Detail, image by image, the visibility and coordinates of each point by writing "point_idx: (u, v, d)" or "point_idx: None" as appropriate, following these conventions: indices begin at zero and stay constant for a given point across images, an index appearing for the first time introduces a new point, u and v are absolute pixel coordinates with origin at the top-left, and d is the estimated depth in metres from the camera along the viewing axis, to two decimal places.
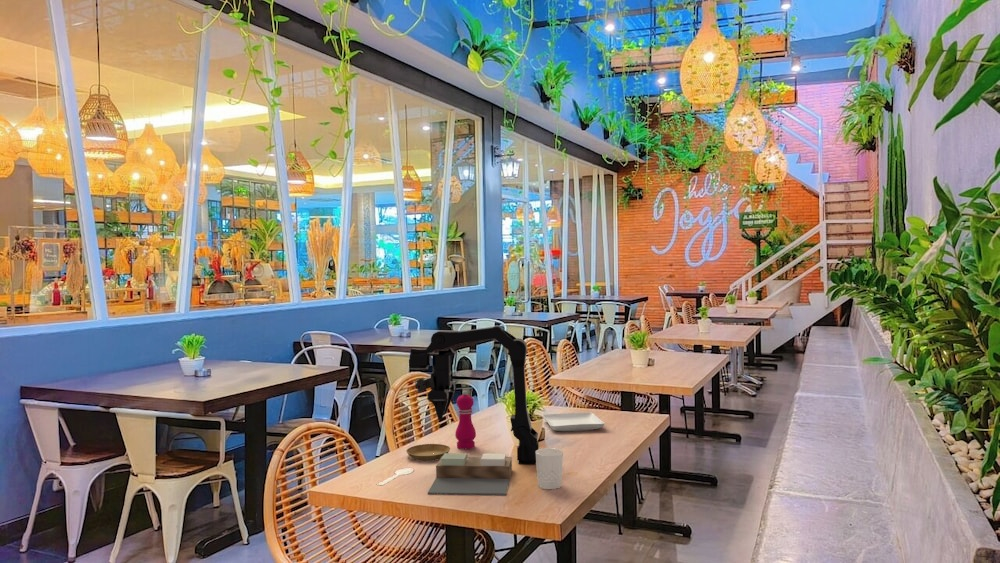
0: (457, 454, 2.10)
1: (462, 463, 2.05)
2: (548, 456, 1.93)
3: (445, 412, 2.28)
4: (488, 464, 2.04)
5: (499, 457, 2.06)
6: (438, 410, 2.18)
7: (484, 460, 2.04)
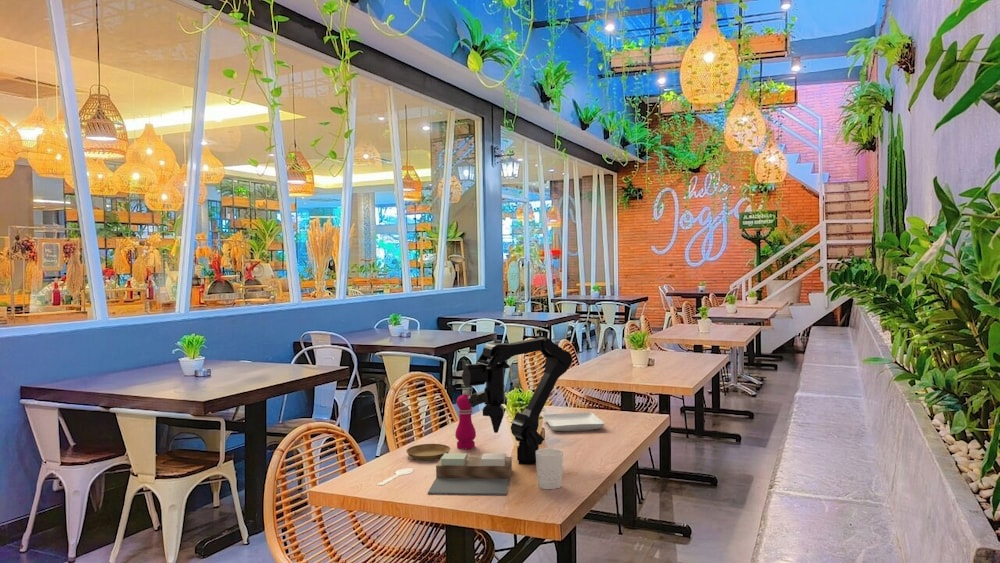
0: (457, 454, 2.10)
1: (462, 463, 2.05)
2: (548, 456, 1.93)
3: None
4: (488, 464, 2.04)
5: (499, 457, 2.06)
6: (494, 423, 2.14)
7: (484, 460, 2.04)
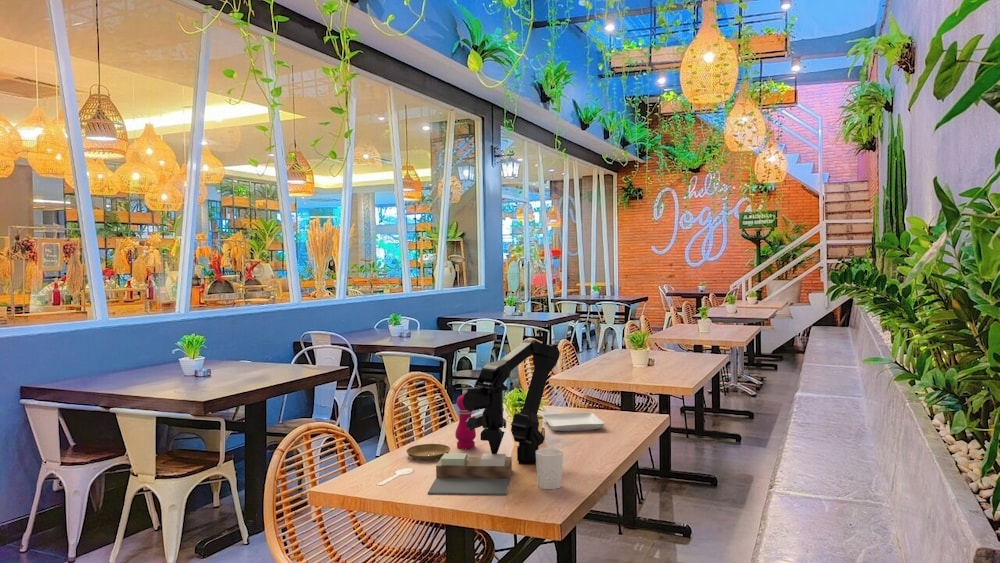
0: (457, 454, 2.10)
1: (462, 463, 2.05)
2: (548, 456, 1.93)
3: None
4: (488, 464, 2.04)
5: (499, 457, 2.06)
6: (493, 447, 2.09)
7: (484, 460, 2.04)
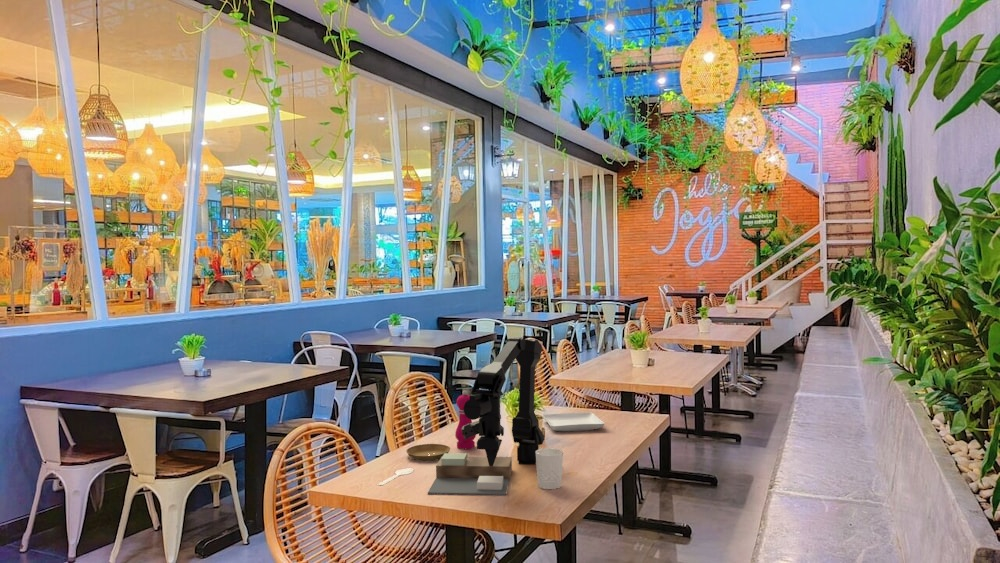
0: (457, 454, 2.10)
1: (462, 463, 2.05)
2: (548, 456, 1.93)
3: None
4: None
5: None
6: (489, 456, 2.00)
7: None
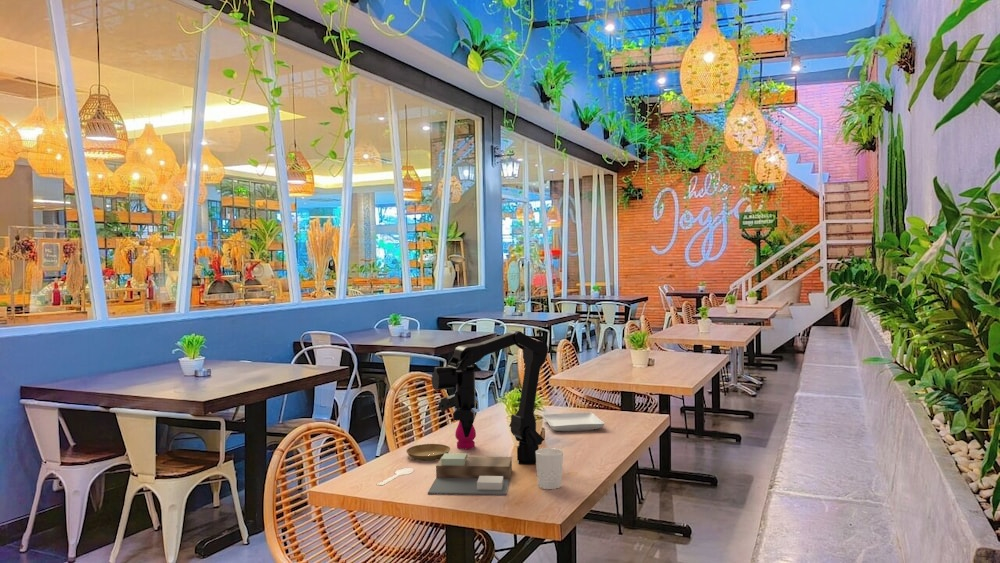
0: (457, 454, 2.10)
1: (462, 463, 2.05)
2: (548, 456, 1.93)
3: None
4: None
5: None
6: (465, 427, 2.10)
7: None
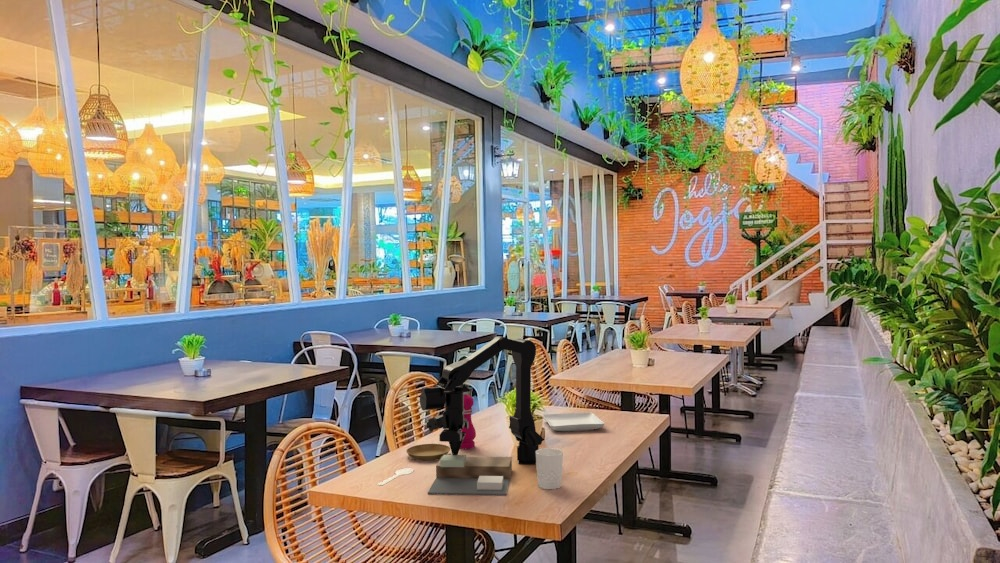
0: (456, 456, 2.08)
1: (461, 465, 2.03)
2: (548, 456, 1.93)
3: None
4: None
5: None
6: (453, 448, 2.09)
7: None
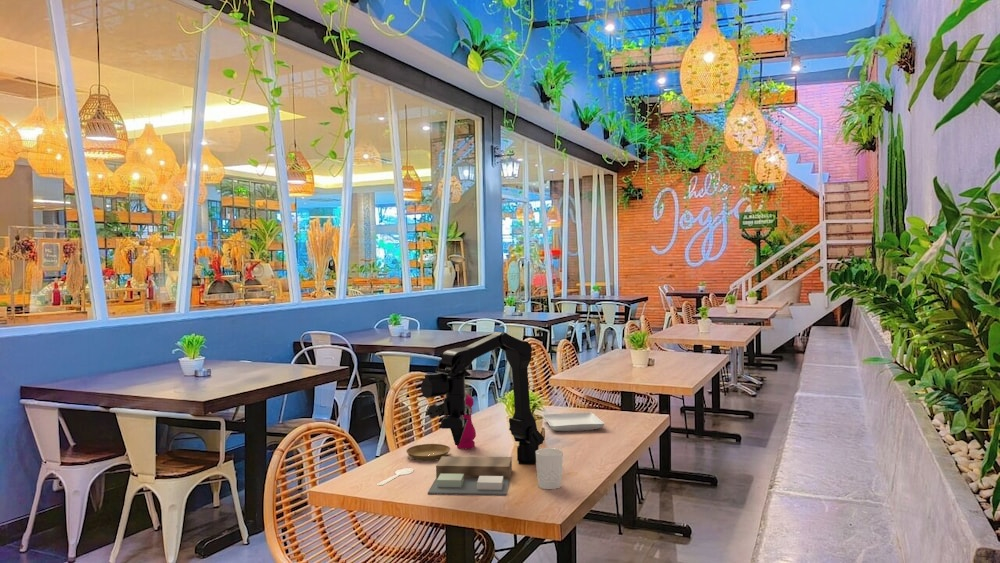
0: None
1: None
2: (548, 456, 1.93)
3: None
4: None
5: None
6: (455, 435, 2.02)
7: None
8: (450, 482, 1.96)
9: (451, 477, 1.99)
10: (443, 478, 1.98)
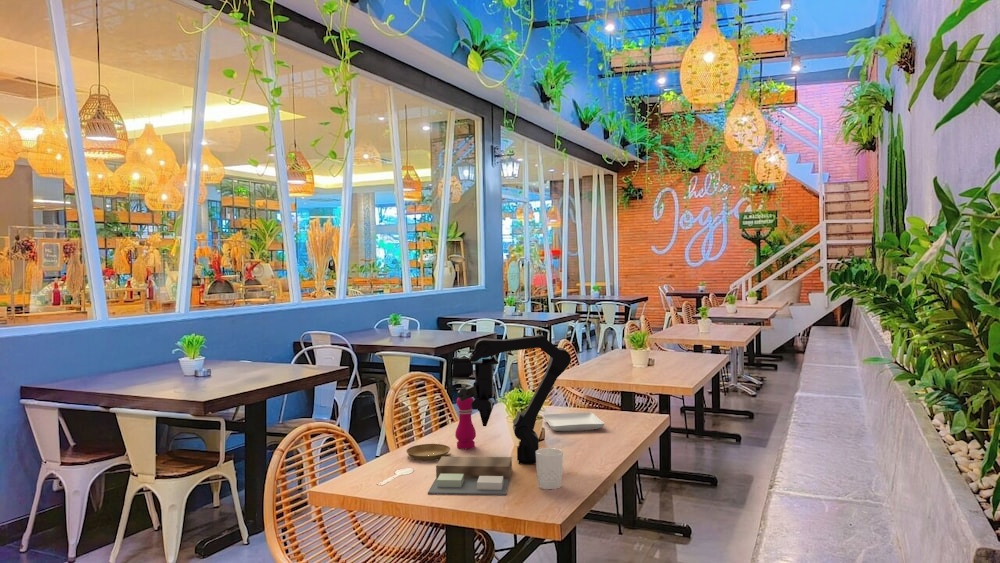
0: None
1: None
2: (548, 456, 1.93)
3: None
4: None
5: None
6: (483, 417, 2.19)
7: None
8: (450, 482, 1.96)
9: (451, 477, 1.99)
10: (443, 478, 1.98)
